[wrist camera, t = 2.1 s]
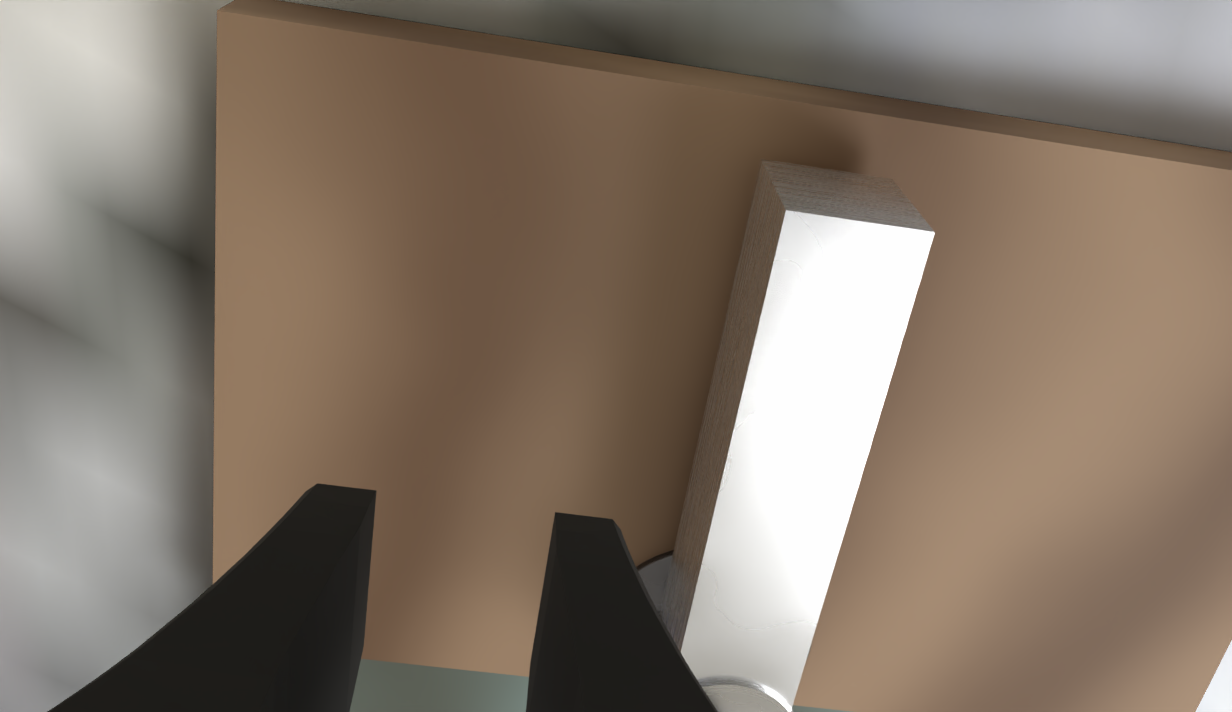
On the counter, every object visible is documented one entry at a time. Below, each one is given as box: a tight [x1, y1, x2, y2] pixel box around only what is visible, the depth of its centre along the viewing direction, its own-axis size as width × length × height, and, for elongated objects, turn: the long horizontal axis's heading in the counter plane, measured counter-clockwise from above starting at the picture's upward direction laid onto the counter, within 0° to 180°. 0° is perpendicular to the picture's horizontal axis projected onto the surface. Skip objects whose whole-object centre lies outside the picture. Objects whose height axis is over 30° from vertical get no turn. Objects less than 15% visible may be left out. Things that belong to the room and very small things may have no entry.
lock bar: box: [658, 159, 935, 712], centre depth 18 cm, size 10×3×2 cm, turn 171°
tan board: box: [213, 0, 1232, 712], centre depth 22 cm, size 19×22×1 cm
